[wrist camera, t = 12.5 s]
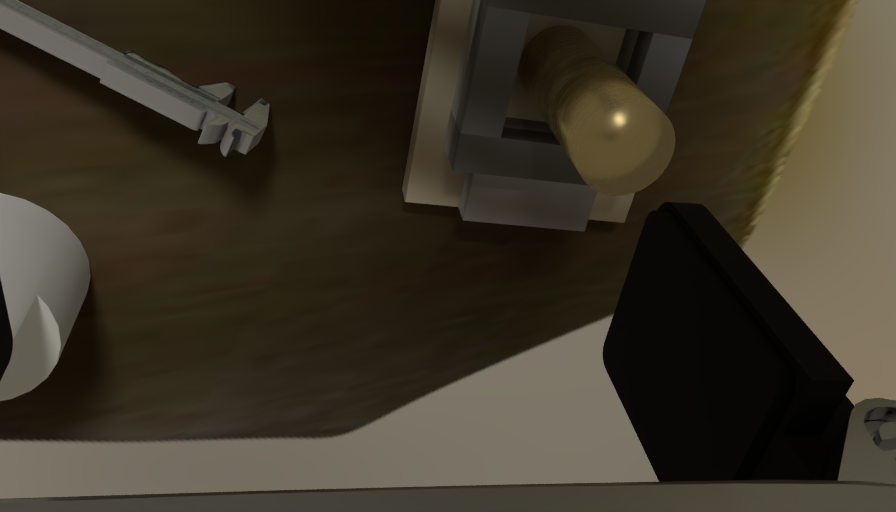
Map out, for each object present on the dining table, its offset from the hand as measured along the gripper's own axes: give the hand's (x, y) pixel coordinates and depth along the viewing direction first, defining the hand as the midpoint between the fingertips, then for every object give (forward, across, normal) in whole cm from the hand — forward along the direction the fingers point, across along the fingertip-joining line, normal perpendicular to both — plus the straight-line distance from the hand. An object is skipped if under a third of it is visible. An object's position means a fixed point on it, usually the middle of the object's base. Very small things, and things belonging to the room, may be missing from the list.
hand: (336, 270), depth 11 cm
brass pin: (+26, -12, +5) cm, 30 cm away
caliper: (+28, +12, +6) cm, 31 cm away
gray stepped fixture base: (+28, -12, +5) cm, 31 cm away
